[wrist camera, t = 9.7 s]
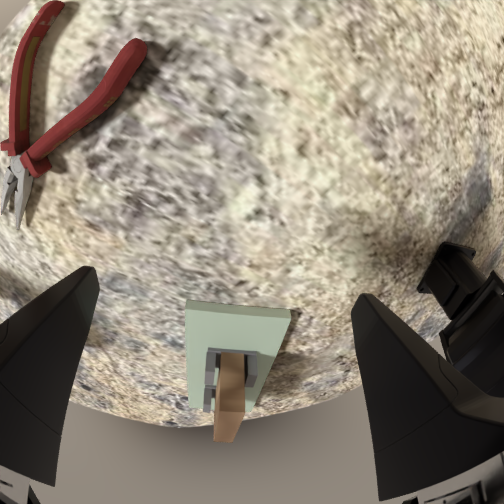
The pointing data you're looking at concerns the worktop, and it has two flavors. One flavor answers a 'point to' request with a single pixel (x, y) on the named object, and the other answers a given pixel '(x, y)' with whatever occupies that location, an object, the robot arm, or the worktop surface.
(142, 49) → the pliers
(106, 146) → the worktop surface
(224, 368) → the brown wooden block
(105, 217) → the worktop surface
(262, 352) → the hinge base
